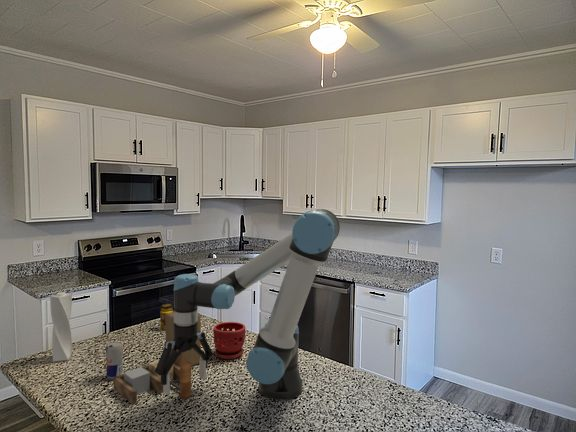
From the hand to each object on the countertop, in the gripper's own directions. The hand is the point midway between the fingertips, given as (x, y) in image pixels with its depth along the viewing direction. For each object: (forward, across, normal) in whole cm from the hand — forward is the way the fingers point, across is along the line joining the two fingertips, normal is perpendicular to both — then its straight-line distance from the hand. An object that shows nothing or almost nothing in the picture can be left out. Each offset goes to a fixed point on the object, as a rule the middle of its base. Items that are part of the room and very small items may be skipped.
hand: (185, 385), depth 127 cm
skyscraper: (+4, +18, -58) cm, 61 cm away
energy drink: (+4, +10, -29) cm, 31 cm away
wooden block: (+4, -12, -21) cm, 25 cm away
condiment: (+4, -28, -59) cm, 65 cm away
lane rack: (+4, +4, -14) cm, 15 cm away
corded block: (+3, 0, -8) cm, 9 cm away
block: (+4, +9, -15) cm, 18 cm away
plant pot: (+4, -30, -15) cm, 34 cm away
